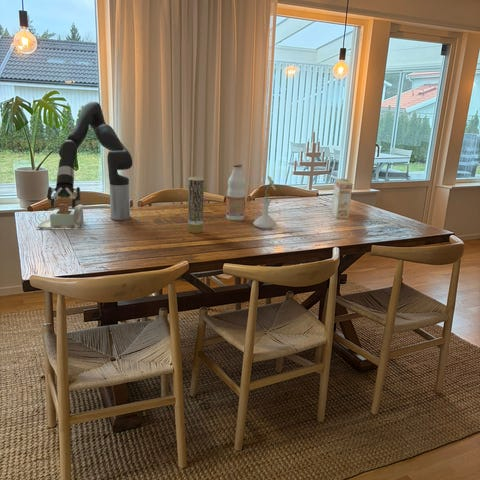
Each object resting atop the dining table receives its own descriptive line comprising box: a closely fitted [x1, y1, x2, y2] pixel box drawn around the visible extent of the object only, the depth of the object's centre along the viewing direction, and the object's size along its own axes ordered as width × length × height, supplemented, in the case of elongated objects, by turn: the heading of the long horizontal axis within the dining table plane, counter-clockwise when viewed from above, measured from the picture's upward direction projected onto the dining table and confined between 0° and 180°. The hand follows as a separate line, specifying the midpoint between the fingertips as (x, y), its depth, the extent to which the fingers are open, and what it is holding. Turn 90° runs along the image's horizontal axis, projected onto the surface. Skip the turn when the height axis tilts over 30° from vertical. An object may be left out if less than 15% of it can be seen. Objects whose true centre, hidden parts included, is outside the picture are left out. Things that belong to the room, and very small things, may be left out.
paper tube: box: [187, 176, 205, 234], centre depth 208 cm, size 7×7×25 cm
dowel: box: [58, 203, 69, 214], centre depth 211 cm, size 4×4×8 cm
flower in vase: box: [253, 175, 277, 229], centre depth 221 cm, size 13×11×25 cm
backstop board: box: [36, 204, 84, 230], centre depth 211 cm, size 18×14×8 cm
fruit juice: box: [225, 163, 247, 221], centre depth 234 cm, size 9×9×28 cm
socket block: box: [49, 208, 76, 226], centre depth 211 cm, size 10×10×5 cm
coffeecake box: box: [331, 178, 354, 220], centre depth 251 cm, size 15×7×20 cm, turn 179°
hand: (63, 207), depth 209 cm, fingers open, 8 cm apart
